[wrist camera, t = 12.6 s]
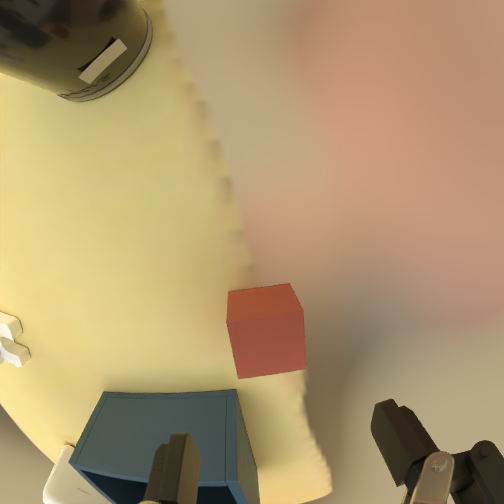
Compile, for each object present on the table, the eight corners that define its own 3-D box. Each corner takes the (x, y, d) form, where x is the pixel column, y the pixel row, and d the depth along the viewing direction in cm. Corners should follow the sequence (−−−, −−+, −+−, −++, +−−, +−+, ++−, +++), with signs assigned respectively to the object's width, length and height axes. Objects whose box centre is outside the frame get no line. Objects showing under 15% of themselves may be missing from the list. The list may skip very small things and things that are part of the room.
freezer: (103, 391, 22) (67, 462, 13) (235, 388, 22) (237, 481, 13) (155, 470, 26) (143, 527, 17) (257, 469, 26) (262, 533, 17)
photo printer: (129, 472, 26) (112, 538, 14) (123, 480, 27) (107, 540, 15) (64, 439, 25) (35, 499, 13) (63, 449, 25) (37, 505, 14)
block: (228, 291, 20) (226, 321, 16) (289, 282, 20) (303, 309, 16) (237, 343, 21) (238, 379, 17) (294, 334, 21) (306, 368, 17)
